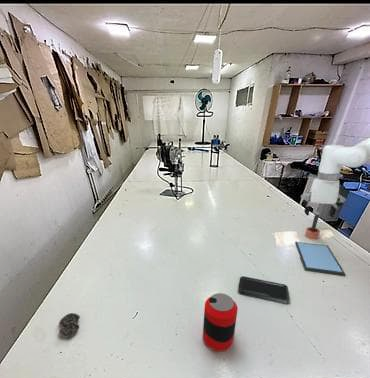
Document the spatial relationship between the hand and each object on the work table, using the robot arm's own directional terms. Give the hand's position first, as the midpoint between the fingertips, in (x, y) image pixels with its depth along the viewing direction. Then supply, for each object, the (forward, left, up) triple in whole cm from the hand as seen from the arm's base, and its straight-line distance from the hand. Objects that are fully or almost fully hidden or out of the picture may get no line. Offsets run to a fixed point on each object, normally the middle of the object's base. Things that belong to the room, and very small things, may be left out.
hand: (318, 215), depth 103 cm
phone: (+24, +43, -11) cm, 51 cm away
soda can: (+36, +64, -12) cm, 74 cm away
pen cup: (0, 0, -11) cm, 11 cm away
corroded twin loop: (+75, +70, -11) cm, 103 cm away
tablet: (+2, +18, -11) cm, 21 cm away
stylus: (+1, 0, -11) cm, 11 cm away
